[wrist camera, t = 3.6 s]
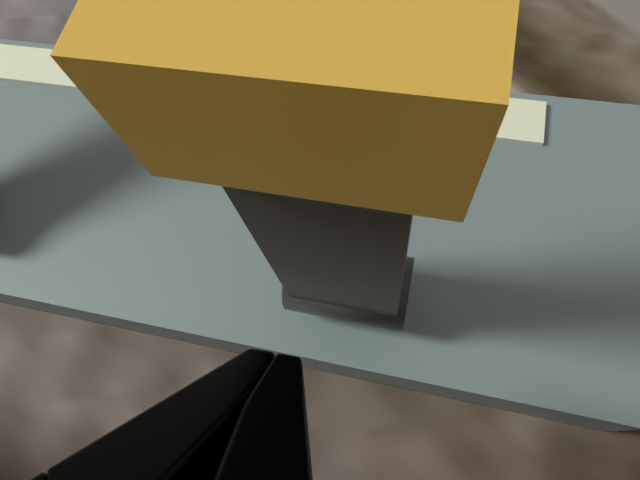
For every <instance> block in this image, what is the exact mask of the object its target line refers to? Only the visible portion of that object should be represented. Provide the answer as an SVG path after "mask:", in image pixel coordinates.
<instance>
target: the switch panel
mask: <svg viewBox="0 0 640 480" xmlns="http://www.w3.org/2000/svg"><path fill="white" fill-rule="evenodd" d="M54 46H55V45H52V44H43V43H33V42H23V41H14V40H4V39H0V302H3V303H8V304H12V305H17V306H22V307H26V308H31V309H36V310H40V311H45V312H50V313H54V314H59V315H64V316H68V317H73V318H78V319H82V320H87V321H92V322H96V323H101V324H106V325H110V326H115V327H120V328H124V329H129V330H134V331H138V332H143V333H148V334H152V335H157V336H162V337H166V338H171V339H176V340H180V341H185V342H190V343H194V344H199V345H204V346H208V347H213V348H218V349H222V350H227V351H232V352H236V353H242V352H244V351H246V350H248V349H250V348H255V349H260V350H265V351H270V352H273V353H274V354H275V355H277V354H286V355H291V356H296V357H299V358H301V360H302V366H303V367H306V368H311V369H316V370H320V371H325V372H330V373H334V374H339V375H344V376H348V377H353V378H358V379H362V380H367V381H372V382H376V383H381V384H386V385H390V386H395V387H400V388H404V389H409V390H414V391H418V392H423V393H428V394H432V395H437V396H442V397H446V398H451V399H456V400H460V401H465V402H470V403H474V404H479V405H484V406H488V407H493V408H498V409H502V410H507V411H512V412H516V413H521V414H526V415H530V416H535V417H540V418H544V419H549V420H554V421H559V422H563V423H568V424H573V425H577V426H582V427H587V428H591V429H596V430H601V431H605V432H607V431H628V430H640V105H631V104H622V103H612V102H602V101H593V100H583V99H573V98H564V97H554V96H544V95H535V94H525V93H515V92H510V98H509V106H508V108H507V111H506V113H505V116H504V119H503V121H502V124H501V126H500V129H499V132H498V134H497V137H496V139H495V142H494V144H493V147H492V150H491V152H490V155H489V157H488V160H487V162H486V165H485V168H484V170H483V173H482V175H481V178H480V180H479V183H478V186H477V188H476V191H475V193H474V196H473V199H472V201H471V204H470V206H469V209H468V211H467V214H466V217H465V219H464V222H463V223H462V222H455V221H449V220H442V219H435V218H429V217H422V216H416V215H413V220H412V227H411V233H410V240H409V246H408V252H407V256H408V257H414V265H413V272H412V278H411V284H410V290H409V297H408V303H407V309H406V314H405V320H404V326H403V331H402V332H399V331H394V330H388V329H383V328H378V327H373V326H368V325H363V324H358V323H352V322H347V321H342V320H337V319H332V318H327V317H322V316H316V315H311V314H306V313H301V312H296V311H291V310H286V309H284V307H283V304H282V284H281V282H280V281H279V279H278V278H277V276H276V274H275V273H274V271H273V269H272V268H271V266H270V264H269V263H268V261H267V259H266V258H265V256H264V255H263V253H262V251H261V250H260V248H259V246H258V245H257V243H256V241H255V240H254V238H253V236H252V235H251V233H250V232H249V230H248V228H247V227H246V225H245V223H244V222H243V220H242V218H241V217H240V215H239V213H238V212H237V210H236V209H235V207H234V205H233V204H232V202H231V200H230V199H229V197H228V195H227V194H226V192H225V190H224V189H223V187H222V186H217V185H211V184H204V183H198V182H191V181H184V180H178V179H171V178H165V177H158V176H152V175H151V174H150V173H149V172H148V171H147V169H146V168H145V167H144V166H143V165H142V163H141V162H140V161H139V160H138V159H137V158H136V156H135V155H134V154H133V153H132V152H131V150H130V149H129V148H128V147H127V146H126V145H125V143H124V142H123V141H122V140H121V139H120V137H119V136H118V135H117V134H116V133H115V132H114V130H113V129H112V128H111V127H110V126H109V125H108V123H107V122H106V121H105V120H104V119H103V117H102V116H101V115H100V114H99V113H98V112H97V110H96V109H95V108H94V107H93V106H92V104H91V103H90V102H89V101H88V100H87V99H86V97H85V96H84V95H83V94H82V93H81V91H80V90H79V89H78V88H77V87H76V86H75V84H74V83H73V82H72V81H71V80H70V78H69V77H68V76H67V75H66V74H65V73H64V71H63V70H62V69H61V68H60V67H59V66H58V64H57V63H56V62H55V61H54V60H53V58H52V57H51V56H50V54H51V52H52V50H53V48H54Z"/></svg>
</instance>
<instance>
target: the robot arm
mask: <svg viewBox="0 0 640 480" xmlns="http://www.w3.org/2000/svg"><path fill="white" fill-rule="evenodd" d="M30 480H313V477H312V466H311V455H310V444H309V433H308V422H307V411H306V400H305V389H304V377H303V366H302V360H301V358H299V357H296V356H291V355H286V354H277V355H275V354H274V353H273V352H270V351H265V350H260V349H255V348H250V349H248V350H246V351H244V352H242V353H241V354H239V355H237V356H236V357H234V358H232V359H231V360H229V361H227V362H226V363H224V364H222V365H221V366H219V367H217V368H216V369H214V370H212V371H211V372H209V373H207V374H206V375H204V376H202V377H201V378H199V379H197V380H196V381H194V382H192V383H191V384H189V385H187V386H186V387H184V388H182V389H181V390H179V391H177V392H176V393H174V394H172V395H171V396H169V397H167V398H166V399H164V400H162V401H161V402H159V403H157V404H156V405H154V406H152V407H151V408H149V409H147V410H146V411H144V412H142V413H141V414H139V415H137V416H136V417H134V418H132V419H131V420H129V421H127V422H126V423H124V424H122V425H121V426H119V427H117V428H116V429H114V430H112V431H111V432H109V433H107V434H106V435H104V436H102V437H101V438H99V439H97V440H96V441H94V442H92V443H91V444H89V445H88V446H86V447H84V448H83V449H81V450H79V451H78V452H76V453H74V454H73V455H71V456H69V457H68V458H66V459H64V460H63V461H61V462H59V463H58V464H56V465H54V466H53V467H51V468H50V469H49V470H48V472H47V474H46V473H40V474H39V475H37V476H35V477H34V478H32V479H30Z"/></svg>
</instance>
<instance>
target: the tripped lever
mask: <svg viewBox="0 0 640 480" xmlns="http://www.w3.org/2000/svg"><path fill="white" fill-rule="evenodd" d="M518 10H519V0H78V2H77V4H76V6H75V8H74V9H73V11H72V13H71V15H70V17H69V19H68V21H67V23H66V25H65V27H64V29H63V31H62V33H61V35H60V37H59V39H58V41H57V42H56V44H55V46H54V48H53V50H52V52H51V54H50V56H51V57H52V58H53V60H54V61H55V62H56V63H57V64H58V66H59V67H60V68H61V69H62V70H63V71H64V73H65V74H66V75H67V76H68V77H69V78H70V80H71V81H72V82H73V83H74V84H75V86H76V87H77V88H78V89H79V90H80V91H81V93H82V94H83V95H84V96H85V97H86V99H87V100H88V101H89V102H90V103H91V104H92V106H93V107H94V108H95V109H96V110H97V112H98V113H99V114H100V115H101V116H102V117H103V119H104V120H105V121H106V122H107V123H108V125H109V126H110V127H111V128H112V129H113V130H114V132H115V133H116V134H117V135H118V136H119V137H120V139H121V140H122V141H123V142H124V143H125V145H126V146H127V147H128V148H129V149H130V150H131V152H132V153H133V154H134V155H135V156H136V158H137V159H138V160H139V161H140V162H141V163H142V165H143V166H144V167H145V168H146V169H147V171H148V172H149V173H150V174H151V175H152V176H158V177H165V178H171V179H178V180H184V181H191V182H198V183H204V184H211V185H217V186H222V187H223V189H224V190H225V192H226V194H227V195H228V197H229V199H230V200H231V202H232V204H233V205H234V207H235V209H236V210H237V212H238V213H239V215H240V217H241V218H242V220H243V222H244V223H245V225H246V227H247V228H248V230H249V232H250V233H251V235H252V236H253V238H254V240H255V241H256V243H257V245H258V246H259V248H260V250H261V251H262V253H263V255H264V256H265V258H266V259H267V261H268V263H269V264H270V266H271V268H272V269H273V271H274V273H275V274H276V276H277V278H278V279H279V281H280V282H281V284H282V304H283V307H284V309H286V310H291V311H296V312H301V313H306V314H311V315H316V316H322V317H327V318H332V319H337V320H342V321H347V322H352V323H358V324H363V325H368V326H373V327H378V328H383V329H388V330H394V331H399V332H402V331H403V326H404V320H405V314H406V309H407V303H408V297H409V290H410V284H411V278H412V272H413V265H414V257H408V256H407V252H408V246H409V240H410V233H411V227H412V220H413V215H416V216H422V217H429V218H435V219H442V220H449V221H455V222H462V223H463V222H464V219H465V217H466V214H467V211H468V209H469V206H470V204H471V201H472V199H473V196H474V193H475V191H476V188H477V186H478V183H479V180H480V178H481V175H482V173H483V170H484V168H485V165H486V162H487V160H488V157H489V155H490V152H491V150H492V147H493V144H494V142H495V139H496V137H497V134H498V132H499V129H500V126H501V124H502V121H503V119H504V116H505V113H506V111H507V108H508V106H509V98H510V88H511V79H512V69H513V59H514V49H515V39H516V29H517V20H518Z"/></svg>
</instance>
